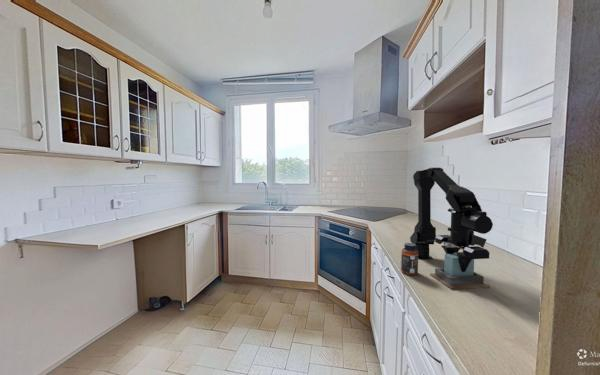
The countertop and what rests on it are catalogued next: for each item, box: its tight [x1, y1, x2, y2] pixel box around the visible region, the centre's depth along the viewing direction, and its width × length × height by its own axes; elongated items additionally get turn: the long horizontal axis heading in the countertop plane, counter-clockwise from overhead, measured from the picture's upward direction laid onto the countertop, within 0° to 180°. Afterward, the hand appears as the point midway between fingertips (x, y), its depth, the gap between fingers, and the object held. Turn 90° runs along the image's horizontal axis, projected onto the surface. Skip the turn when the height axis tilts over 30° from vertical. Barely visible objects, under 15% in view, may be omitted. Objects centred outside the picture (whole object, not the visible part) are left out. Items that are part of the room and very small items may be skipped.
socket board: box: [429, 267, 491, 290], centre depth 84 cm, size 11×14×3 cm
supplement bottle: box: [400, 242, 419, 276], centre depth 91 cm, size 6×6×11 cm
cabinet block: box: [443, 251, 475, 277], centre depth 84 cm, size 4×8×8 cm, turn 95°
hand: (458, 269), depth 84 cm, fingers closed on cabinet block, 4 cm apart
